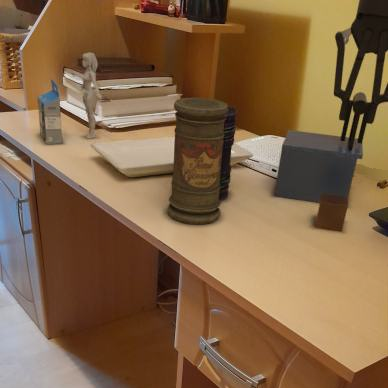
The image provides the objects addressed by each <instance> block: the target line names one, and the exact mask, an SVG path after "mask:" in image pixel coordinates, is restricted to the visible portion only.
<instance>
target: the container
mask: <svg viewBox="0 0 388 388" xmlns="http://www.w3.org/2000/svg"><path fill="white" fill-rule="evenodd" d="M228 106H229V105H228V104H227V103H226V102H224V101H222V100H219V99H212V98H204V97H183V98H178V99H176V100H175V101H174V103H173V109H174V110H175V113H174V116H175V127H174V130H173V131H174V132H173V133H174V136H175V142H174V166H173V173H172V179H171V192H170V193H171V194H170V196H169V197H168V202H169V204H168V205H167V213H168V215H169V217H170V218H172V219H173V220H175V221H177V222H180V223H183V224H187V225H209V224H212V223H215V222H216V221H218V219H219V218H220V216H221V209H220V206H221V201H219V190H220V183H219V181H220V170H221V159H222V149H223V137H224V122H225V119H226V117H225V116H224V115H225V114H227V112H228Z"/></svg>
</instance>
